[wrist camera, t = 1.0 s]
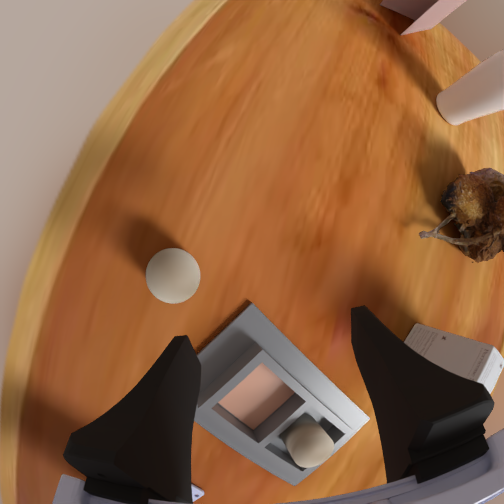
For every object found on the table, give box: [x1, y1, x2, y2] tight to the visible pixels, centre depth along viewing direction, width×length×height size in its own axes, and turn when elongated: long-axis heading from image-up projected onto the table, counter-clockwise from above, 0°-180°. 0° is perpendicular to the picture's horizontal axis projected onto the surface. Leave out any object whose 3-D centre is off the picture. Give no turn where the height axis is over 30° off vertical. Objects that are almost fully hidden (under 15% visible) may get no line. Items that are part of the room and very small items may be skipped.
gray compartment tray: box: [194, 302, 370, 486], centre depth 26 cm, size 12×20×3 cm, turn 43°
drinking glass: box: [436, 49, 504, 125], centre depth 26 cm, size 7×7×15 cm
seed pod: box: [419, 168, 504, 263], centre depth 28 cm, size 13×16×15 cm
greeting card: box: [380, 0, 466, 35], centre depth 26 cm, size 11×7×15 cm, turn 90°
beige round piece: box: [280, 414, 334, 468], centre depth 25 cm, size 4×4×4 cm
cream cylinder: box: [146, 248, 200, 303], centre depth 24 cm, size 4×4×4 cm
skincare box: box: [404, 323, 504, 394], centre depth 25 cm, size 6×4×12 cm
